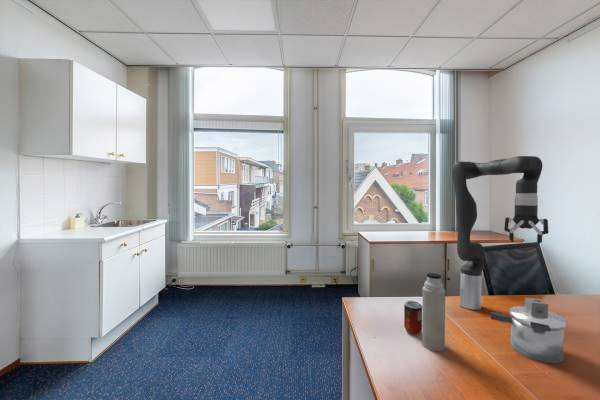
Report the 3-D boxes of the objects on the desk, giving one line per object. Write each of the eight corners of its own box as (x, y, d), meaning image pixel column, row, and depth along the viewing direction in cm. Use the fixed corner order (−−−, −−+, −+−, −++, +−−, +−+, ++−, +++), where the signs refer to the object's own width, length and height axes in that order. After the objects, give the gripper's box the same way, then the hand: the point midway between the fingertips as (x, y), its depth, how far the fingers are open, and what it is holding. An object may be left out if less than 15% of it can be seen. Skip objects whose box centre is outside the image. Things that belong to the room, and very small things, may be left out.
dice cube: (547, 317, 102) (548, 304, 102) (531, 316, 104) (531, 302, 103) (540, 311, 107) (540, 299, 107) (524, 310, 108) (525, 297, 108)
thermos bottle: (421, 338, 114) (421, 270, 113) (443, 341, 111) (443, 272, 110) (423, 349, 106) (423, 276, 105) (446, 353, 104) (447, 278, 103)
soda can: (424, 330, 120) (424, 302, 120) (418, 337, 115) (418, 308, 114) (407, 325, 125) (407, 298, 124) (401, 332, 119) (401, 303, 119)
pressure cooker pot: (490, 348, 106) (491, 317, 106) (490, 330, 120) (490, 302, 120) (567, 368, 94) (568, 333, 94) (557, 345, 108) (558, 315, 108)
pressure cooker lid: (511, 324, 100) (511, 320, 100) (508, 306, 115) (508, 303, 115) (572, 337, 91) (572, 332, 91) (560, 316, 106) (561, 312, 106)
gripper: (505, 204, 117) (504, 242, 118) (550, 205, 109) (549, 246, 110) (504, 203, 124) (503, 239, 124) (547, 204, 116) (546, 243, 116)
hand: (525, 242), depth 117 cm, fingers open, 8 cm apart
